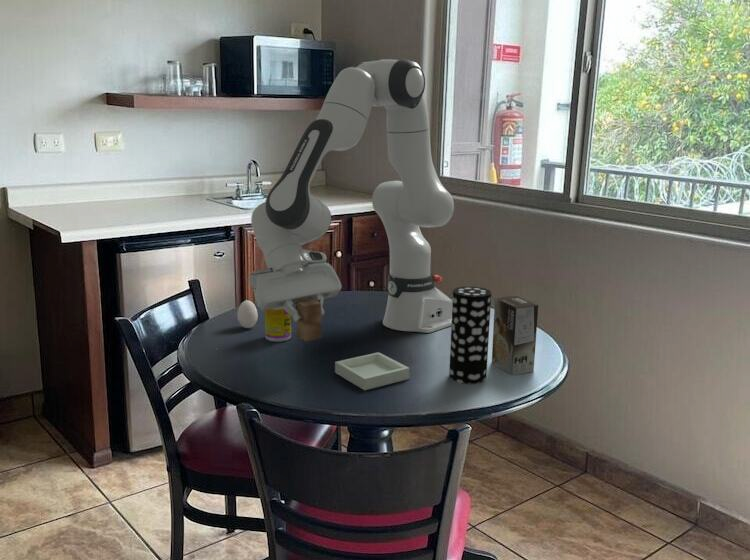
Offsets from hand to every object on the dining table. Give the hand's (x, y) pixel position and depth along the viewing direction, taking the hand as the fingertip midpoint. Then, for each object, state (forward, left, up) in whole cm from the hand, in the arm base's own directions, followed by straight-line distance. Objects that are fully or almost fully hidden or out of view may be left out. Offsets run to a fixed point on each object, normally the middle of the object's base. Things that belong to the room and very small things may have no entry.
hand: (310, 317), depth 158 cm
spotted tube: (-30, +19, -14) cm, 38 cm away
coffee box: (-43, +20, -14) cm, 49 cm away
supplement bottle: (-6, -27, -14) cm, 30 cm away
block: (0, -1, -5) cm, 5 cm away
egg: (-3, -39, -14) cm, 41 cm away
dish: (-12, +7, -14) cm, 19 cm away
